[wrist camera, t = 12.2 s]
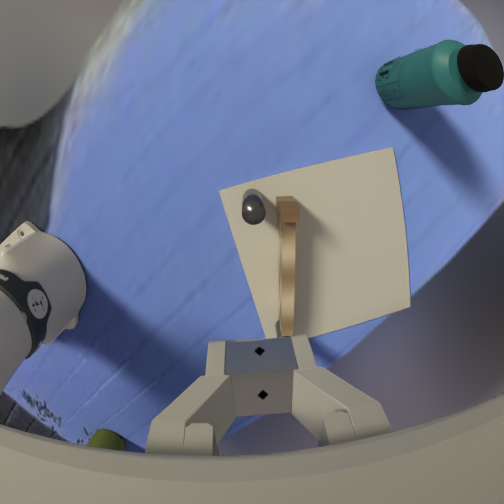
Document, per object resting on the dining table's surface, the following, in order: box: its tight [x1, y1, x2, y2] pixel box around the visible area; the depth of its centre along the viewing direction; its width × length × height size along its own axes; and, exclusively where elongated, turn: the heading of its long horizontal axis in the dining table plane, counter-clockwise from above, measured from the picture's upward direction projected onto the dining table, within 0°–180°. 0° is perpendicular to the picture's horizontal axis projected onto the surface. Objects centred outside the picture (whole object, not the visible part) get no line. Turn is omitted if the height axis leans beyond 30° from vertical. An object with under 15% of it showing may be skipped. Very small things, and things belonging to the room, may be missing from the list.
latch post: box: [242, 189, 266, 225], centre depth 36 cm, size 2×2×8 cm
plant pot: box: [86, 429, 125, 451], centre depth 53 cm, size 12×12×11 cm
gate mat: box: [219, 148, 410, 339], centre depth 43 cm, size 23×24×1 cm
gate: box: [276, 196, 300, 336], centre depth 39 cm, size 17×2×6 cm, turn 2°
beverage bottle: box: [375, 40, 504, 110], centre depth 25 cm, size 6×7×20 cm
